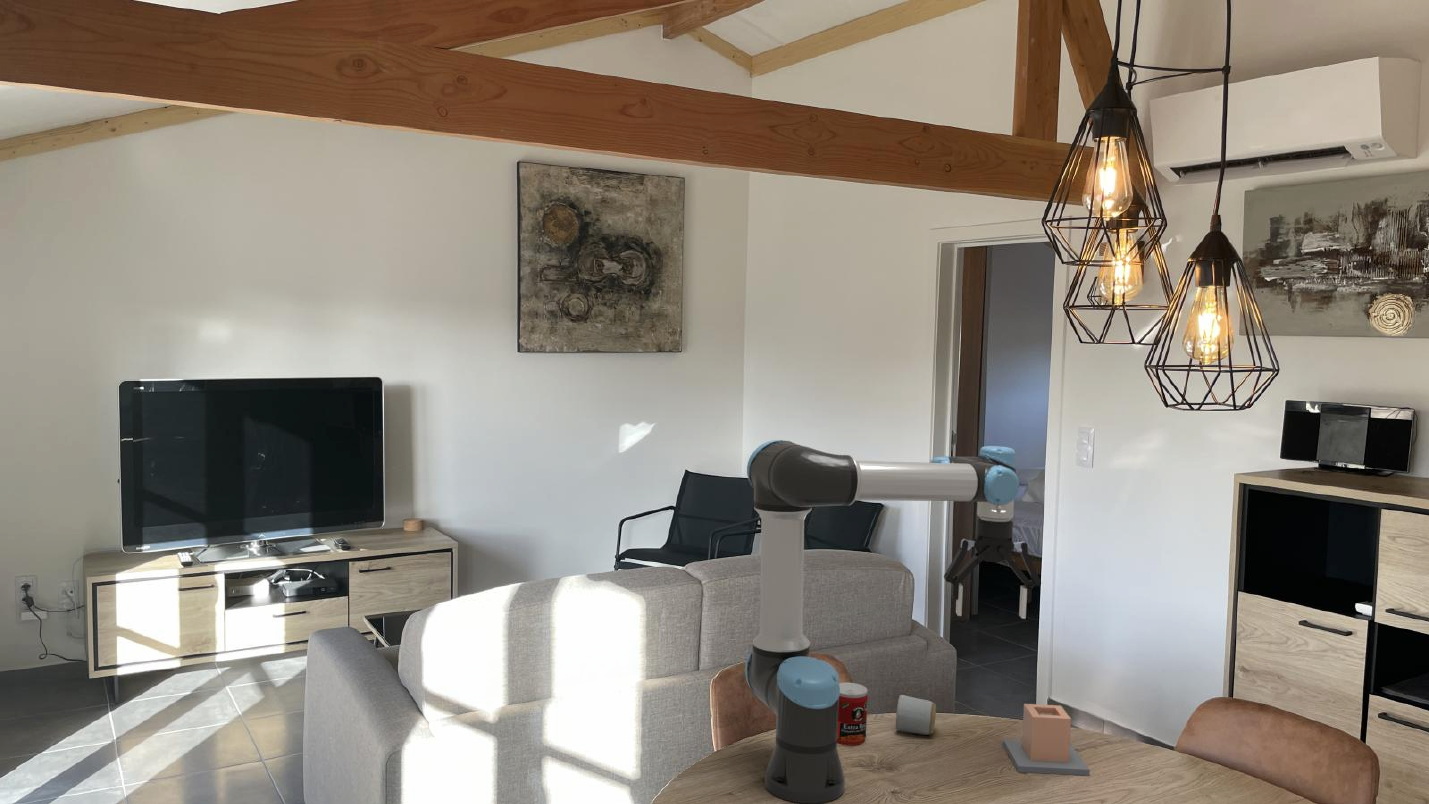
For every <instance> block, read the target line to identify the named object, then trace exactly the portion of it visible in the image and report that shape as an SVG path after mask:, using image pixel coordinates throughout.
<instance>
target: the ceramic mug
mask: <svg viewBox="0 0 1429 804" xmlns="http://www.w3.org/2000/svg"><path fill="white" fill-rule="evenodd" d="M896 707H897V708H896V715H895V725H894V726H895V730H896V731H897V732H903V733H904V732H905V733H911V734H918V735H924V736H926V735H927V736H928V735H929V736H930V735H932V734H933V733H934V730H935V725H936V717H937V705H936V703H935V702H933V701H930V700H927V699H922V698H917V697H914V696H913V697H912V696H909V695H904V694H900V695H899V697H898V700H897V706H896Z"/></svg>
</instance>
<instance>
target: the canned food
mask: <svg viewBox="0 0 1429 804" xmlns="http://www.w3.org/2000/svg"><path fill="white" fill-rule="evenodd" d="M839 686H840V695H839V708H838V730H837V744H840V745H844V744H845V746H857V745H861V744H863V743H864V742H865V740H866V738H867V721H868V720H867V719H868V700H869V699H868V695H869V693H868V687H866V686H865V685H862V684H859V683H856V682H848V681H847V682H839Z"/></svg>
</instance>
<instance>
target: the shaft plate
mask: <svg viewBox="0 0 1429 804" xmlns="http://www.w3.org/2000/svg"><path fill="white" fill-rule="evenodd" d="M1002 746H1003V747H1004V750H1005V751H1006V753H1007V755H1008V756H1009V758H1010V760H1011V761H1012V764H1013V766H1014V767H1015V769H1016V770H1017V772H1018V773H1029V774H1030V773H1033V774H1050V775H1051V774H1052V775H1068V776H1069V775H1071V776H1087V777H1089V776H1090V771H1091V770H1090V768H1089V767H1088V766H1087V764H1086V762H1084V760H1083V759H1082V758H1081V756H1080V754H1079V753H1078V752H1077V750H1076V749H1075V747H1074V746H1073V745H1072V744H1071V743H1070V749H1069V762H1052V761H1033V760H1030V758H1029V757H1028V755H1027V753H1026V752H1025V750H1024V748H1023V747H1022V739H1014V738H1013V739H1008V738H1003V739H1002Z"/></svg>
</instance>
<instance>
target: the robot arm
mask: <svg viewBox="0 0 1429 804" xmlns="http://www.w3.org/2000/svg"><path fill="white" fill-rule="evenodd" d="M1016 471H1017V457H1016V452H1015V450H1014V449H1013V448H1011V447H1009V446H999V445H987V446H982V447H981V448H980V450H979V454H978V455H976V456H948V455H945V456H938V457H937V456H936V457H933V458H932V459H931V460H930V461H929V462H913V461H881V460H879V461H877V460H876V461H874V460H872V461H871V460H856V459H855V458H854V457H853V456H852V455H849V454H836V453H835V454H834V453H829V452H824V451H821V450H819V449H818V450H817V449H814V448H811V447H809V446H805V445H801V444H798V443H795V442H792V441H790V440H782V439H779V440H778V439H775V440H774V439H773V440H769V441H767V442H764V443H762V444H760V445H759V446H758V447H757V448H755V450H753V452H752V453H751V455H750V457H749V459H748V461H747V465H746V474H747V475H746V476H747V479H748V482H749V483H750V486H751V487H752V488H753V509H754V511H756V512H757V513H758V514H759V516H760V518H761V525H760V526H761V527H760V528H761V530H760V531H761V532H760V535H761V536H760V537H761V539H760V606H759V607H760V612H759V614H760V615H759V617H760V618H759V619H760V623H759V625H760V627H759V628H760V629H759V633H758V634H757V635H756V636H755V637H754V638H753V639H752V649H751V653H749V654H748V656H747V659H746V661H745V664H744V675H745V676H744V677H745V679H746V682H747V684H748V687H749V688H750V691H751V692H752V694H753V695H754V696H755V698H757V699H758V700H759V701H760V702H762V703H763V704H764V705H766V707H767V708H768V709H770V711H772V713H774V714H775V716H776V718H775V719H776V722H775V745H774V748H773V751H772V753H771V756H770V759H769V762H768V764H767V768H766V770H765V774H764V775H765V778H764V779H765V780H764V784H765V788H766V789H767V791H768V792H769V793H771V794H772V795H773V796H775V797H777V798H780V799H783V800H786V801H789V802H794V803H800V804H801V803H802V804H820V803H821V804H822V803H827V802H832V801H835V800H836V799H838V798H840V797H841V796H842V795H843V794H844V792H845V785H846V783H845V782H846V778H845V777H846V776H845V773H844V770H843V766H842V762H841V759H840V756H839V752H838V743H837V730H838V708H839V695H840V686H839V683H840V677H839V674H838V671H837V669H836V668H835V667H834V666H833V665H832V664H830V663H828V662H827V661H825V660H822V659H818V658H817V657H812V656H810V655H811V642H810V640H809V639H808V638H807V637H806V636H805V635H804V634H803V633H804V632H803V630H804V629H803V618H804V617H803V615H804V561H805V560H804V559H805V558H804V555H805V551H804V550H805V549H804V548H805V517H806V516H807V515H808V514H809V513H811V511H812V509H813V507H814V508H815V507H816V508H817V507H833V506H834V507H835V506H837V507H838V506H839V507H840V506H842V507H843V506H844V507H845V506H846V507H847V506H851V505H853V504H854V502H855V501H882V502H883V501H885V502H886V501H891V502H892V501H894V502H896V501H897V502H899V501H905V502H906V501H907V502H909V501H910V502H918V501H919V502H921V501H923V502H970V503H971V502H975V503H977V511H976V514H977V516H978V518H976V529H975V530H976V531H975V532H976V533H975V534H976V535H975V539H974V540H970V539H966V538H965V537H964V538H961V539H960V544H959V549H958V550H957V552H956V554H955V556H954V558H953V559H952V561H951V563H950V564H949V566H948V567H947V570H946V572H945V573H944V575H943V578H944V580H945V581H946V583H950V584H951V597H952V599H953V600H956V602H955V613H956V615H957V616H958V617H962V614H963V613H962V612H963V611H962V609H963V590H964V589H963V588H964V586H963V584H962V582H963V581H964V579H966V578H967V577H968V575H969V574H970V573H971V572H973V570H974V569H975V568H976V567H977V566H978V565H979V564H981V563H982V562H983V561H985V562H986V563H987V562H988V563H992V562H996V563H1002V562H1006V563H1007V564H1008V566H1009V567H1010V568H1011V569H1012V571H1013V572H1014V573H1015V575H1016V576H1017V577H1018V578H1019V580H1021V582H1022V583H1023V584H1024V585H1020V586H1019V587H1020V592H1019V593H1020V594H1019V608H1018V609H1019V611H1018V616H1019V617H1020V618H1021V619H1022V620H1023V619H1024V620H1025V619H1026V616H1027V604H1028V603H1029V604H1030V603H1031V602H1032V594H1033V593H1032V592H1033V591H1032V589H1034V587H1040V586H1041V584H1042V581H1041V579H1040V577H1039V574H1038V572H1037V570H1036V568H1035V565H1034V563H1033V562H1032V560H1031V557H1030V555H1029V549H1028V544H1027V542H1025V541H1024V540H1020V541H1018V542H1014V541H1013V531H1014V521H1012V519H1013V518H1014V511H1015V510H1014V509H1015V508H1014V505H1015V499H1016V497H1017V496H1018V494H1019V491H1020V481H1019V477H1018V475H1017V474H1016ZM971 548H974V549H975V550H976V552H975V553H974V554H973V555H972V557H971V558H970V559H969V560H968V562H967V563H966V564H965V565H964V566H963V567H962V568H961V569H960V570H959V571H958V569H959V568H960V565H961V564H962V562H963V560H964V559H965V557H966V556H967V555H966V554H967V553H968V551H970V550H971ZM1014 549H1016V551H1017V552H1018V553H1019V554H1020V557H1021V558H1022V560H1023V563H1024V566H1025V567H1026V569H1027V573H1028V574H1029V576H1030V578H1031V579H1029V578H1028V577H1027V576H1026V575H1025V573H1024V572H1023V571H1022V570H1021V568H1020V567H1019V566H1018V564H1016V562H1015V561H1014V560H1013V558H1012V557H1011V556H1010V554H1011V553H1012V552H1013V550H1014ZM957 571H958V572H957Z"/></svg>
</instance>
